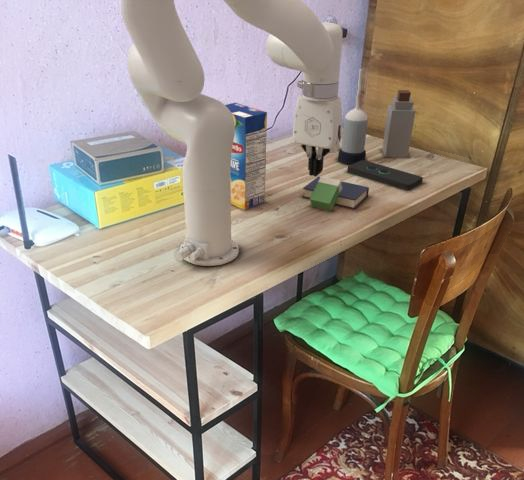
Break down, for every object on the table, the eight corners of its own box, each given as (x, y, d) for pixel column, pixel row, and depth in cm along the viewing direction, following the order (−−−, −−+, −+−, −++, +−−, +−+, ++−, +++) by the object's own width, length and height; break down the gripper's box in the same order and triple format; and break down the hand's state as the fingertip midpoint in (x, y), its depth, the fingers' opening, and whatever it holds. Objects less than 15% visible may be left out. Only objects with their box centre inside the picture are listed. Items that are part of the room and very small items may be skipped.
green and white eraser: (331, 211, 145) (329, 203, 142) (311, 206, 147) (309, 199, 144) (342, 187, 147) (340, 180, 144) (322, 183, 149) (320, 176, 146)
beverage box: (245, 210, 144) (245, 117, 131) (215, 197, 150) (213, 107, 137) (264, 202, 148) (267, 112, 135) (235, 190, 154) (235, 102, 141)
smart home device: (362, 158, 171) (424, 176, 160) (362, 164, 172) (422, 182, 161) (346, 166, 165) (408, 184, 155) (346, 172, 167) (407, 191, 156)
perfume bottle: (407, 157, 177) (418, 94, 167) (385, 157, 177) (394, 94, 167) (403, 150, 183) (413, 88, 172) (382, 149, 183) (390, 88, 172)
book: (354, 209, 146) (355, 199, 144) (302, 197, 151) (303, 187, 150) (367, 196, 152) (369, 187, 151) (317, 185, 158) (318, 176, 156)
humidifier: (346, 153, 179) (355, 64, 164) (370, 159, 175) (381, 69, 160) (332, 161, 174) (341, 69, 159) (357, 167, 170) (368, 74, 155)
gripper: (280, 89, 124) (278, 173, 135) (346, 98, 118) (338, 186, 130) (296, 81, 129) (293, 163, 140) (360, 90, 123) (351, 174, 135)
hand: (315, 173), depth 135 cm, fingers closed
